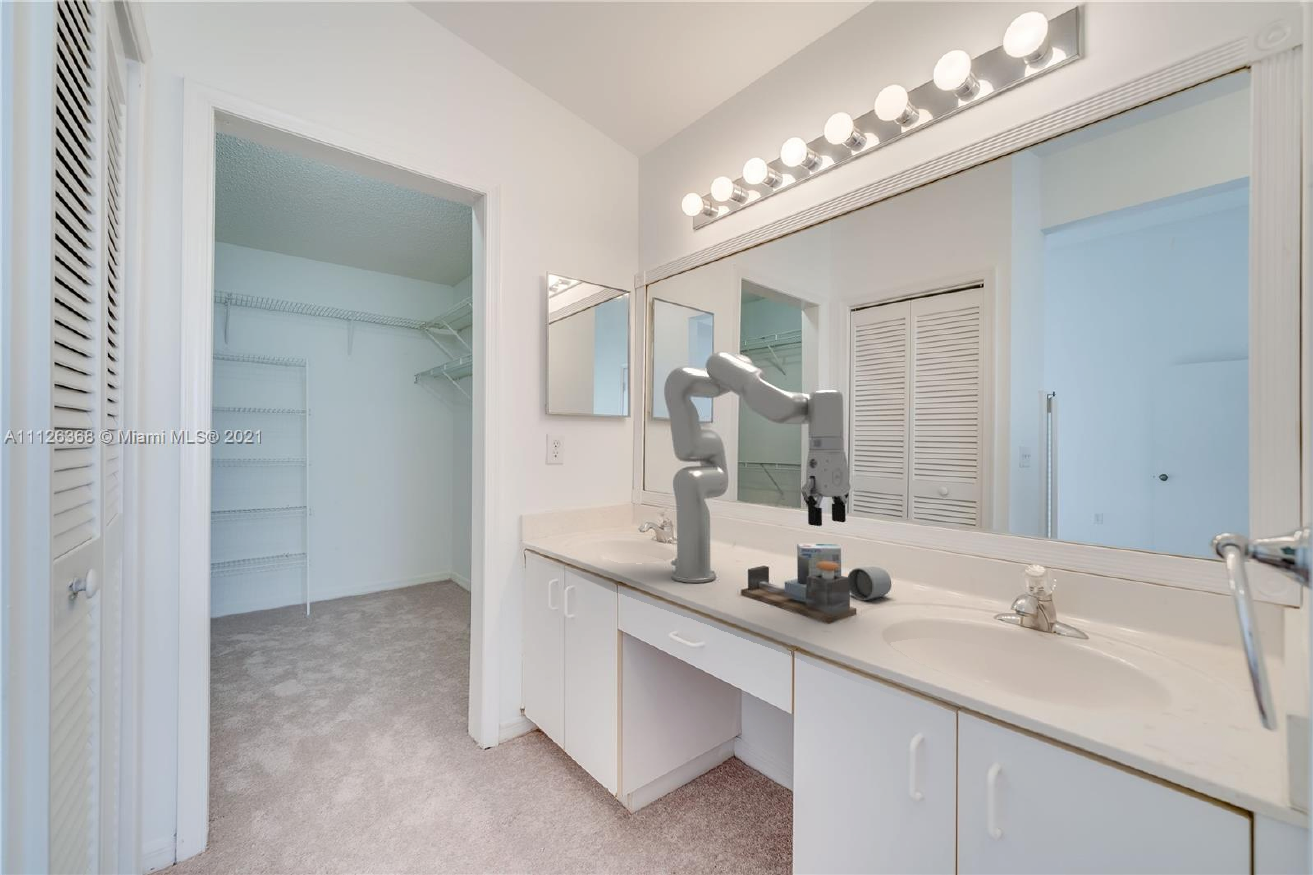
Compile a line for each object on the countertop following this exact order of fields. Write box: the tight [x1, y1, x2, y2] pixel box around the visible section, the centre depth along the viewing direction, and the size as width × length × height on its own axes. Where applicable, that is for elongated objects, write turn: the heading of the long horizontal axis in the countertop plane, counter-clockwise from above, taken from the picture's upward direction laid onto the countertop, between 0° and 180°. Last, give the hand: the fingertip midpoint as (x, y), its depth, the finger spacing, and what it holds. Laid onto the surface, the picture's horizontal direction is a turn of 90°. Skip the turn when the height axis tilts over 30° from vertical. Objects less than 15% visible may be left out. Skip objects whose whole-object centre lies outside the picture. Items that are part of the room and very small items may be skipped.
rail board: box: [740, 565, 857, 624], centre depth 121 cm, size 26×10×8 cm, turn 36°
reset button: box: [817, 561, 838, 580], centre depth 114 cm, size 4×4×5 cm
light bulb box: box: [796, 542, 842, 576], centre depth 137 cm, size 11×7×11 cm, turn 84°
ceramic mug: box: [847, 566, 892, 602], centre depth 127 cm, size 11×8×8 cm
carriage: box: [784, 555, 809, 602], centre depth 119 cm, size 6×6×10 cm
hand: (827, 523), depth 114 cm, fingers open, 8 cm apart
